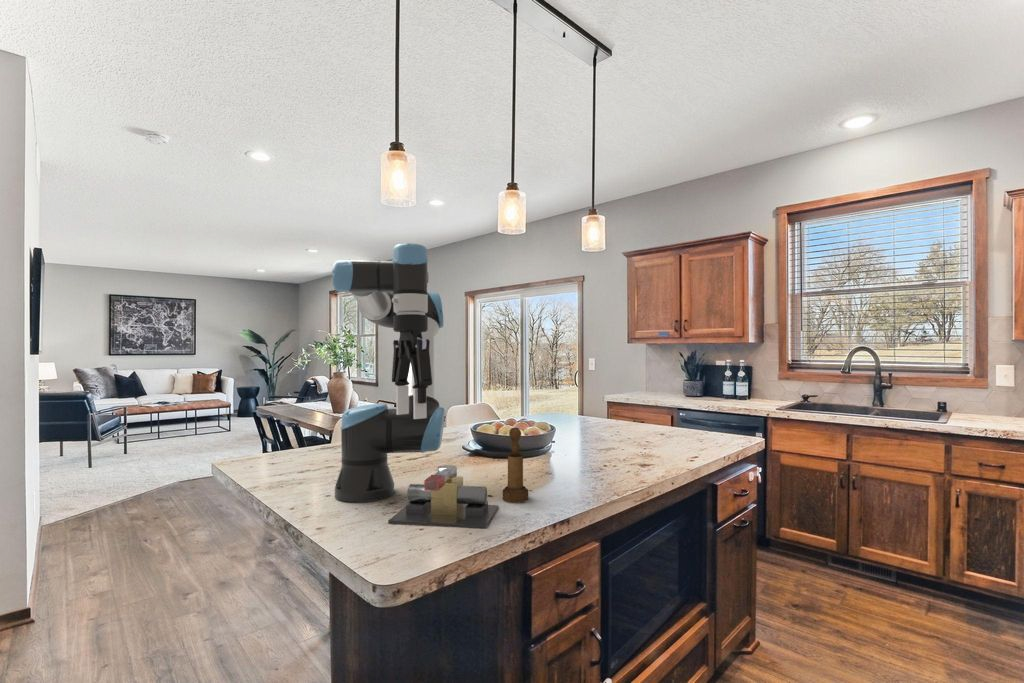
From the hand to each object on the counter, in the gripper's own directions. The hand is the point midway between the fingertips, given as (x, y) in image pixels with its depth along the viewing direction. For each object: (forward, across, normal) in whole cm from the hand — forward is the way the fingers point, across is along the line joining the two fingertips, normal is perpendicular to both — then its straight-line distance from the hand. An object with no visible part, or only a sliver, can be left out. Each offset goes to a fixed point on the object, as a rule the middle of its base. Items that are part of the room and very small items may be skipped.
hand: (411, 416), depth 114 cm
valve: (+23, +1, +8) cm, 25 cm away
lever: (+15, +3, +6) cm, 16 cm away
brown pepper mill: (+24, +1, +28) cm, 37 cm away
